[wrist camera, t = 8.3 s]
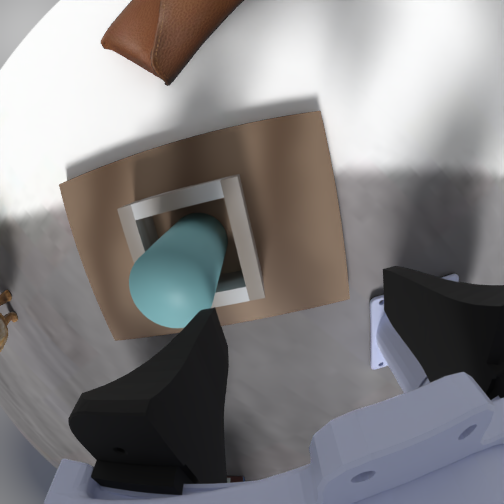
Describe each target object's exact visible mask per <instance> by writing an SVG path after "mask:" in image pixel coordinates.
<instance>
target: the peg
mask: <svg viewBox="0 0 504 504" xmlns="http://www.w3.org/2000/svg"><path fill="white" fill-rule="evenodd" d="M227 244H228V239H227V234H226V231H225V229H224V227H223V225H222V224H221V223H220V222H219V221H218V220H217V219H216V218H214V217H213V216H211V215H208V214H205V213H192V214H188V215H186V216H184V217H183V218H181V219H180V220H179V221H178V222H177V223H176V224H175V225H173V226H172V227H171V228H170V229H169V230H168V231H167V232H166V233H165V234H164V235H163V236H161V237H160V238H159V239H158V240H157V241H156V242H155V243H154V244H153V245H152V246H151V247H150V248H149V249H148V250H147V251H146V252H145V253H143V254H142V255H141V256H140V257H139V258H138V260H137V261H136V262H135V263H134V265H133V267H132V269H131V272H130V276H129V289H130V293H131V296H132V299H133V301H134V303H135V305H136V306H137V308H138V309H139V310H140V311H141V312H142V314H143V315H145V316H146V317H147V318H148V319H150V320H151V321H153V322H155V323H157V324H159V325H161V326H165V327H169V328H184V327H185V326H186V325H187V324H188V323H189V322H190V321H191V320H192V319H193V318H194V316H195V315H196V314H197V313H198V312H199V311H200V310H203V309H209V308H211V306H212V303H213V300H214V296H215V292H216V288H217V284H218V280H219V276H220V272H221V268H222V265H223V261H224V257H225V253H226V249H227Z"/></svg>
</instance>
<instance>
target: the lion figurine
mask: <svg viewBox="0 0 504 504" xmlns="http://www.w3.org/2000/svg"><path fill="white" fill-rule="evenodd" d="M11 299H12V296H11V294H10V292H9V291H8V290H6V291H4V292H3V293H2V294H1V295H0V306H1V305H3V304H5V303H6V302H7V301H10V300H11ZM11 320H12V321H13V322H16V321H17V320H18V317H17V314H16V313H14V312H10V313H8V314H6V315H5V316H3V315H2V314H1V313H0V352H1V350H2V349H3V347H4V345H5V343H6V341H7V338H8V328H7V325H8V323H9V322H10V321H11Z"/></svg>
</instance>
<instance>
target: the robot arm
mask: <svg viewBox="0 0 504 504" xmlns="http://www.w3.org/2000/svg"><path fill="white" fill-rule="evenodd" d="M458 281H459V277H458V275H456V274H451V275H448V276H445V277H442V278H439V277H435V276H432V275H428V274H425V273H421V272H418V271H415V270H411V269H408V268H404V267H399V266H394V267H390V268H386V269H383V283H384V295H381V296H377V297H374V298H372V299H371V301H370V332H371V360H370V365H371V368H372V369H378V368H381V367H385V366H389V367H390V369H391V371H392V372H393V374H394V376H395V378H396V379H397V381H398V383H399V385H400V386H401V388H402V390H403V392H404V394H401V395H398V396H395V397H393V398H390V399H387V400H384V401H381V402H378V403H375V404H372V405H369V406H366V407H362V408H359V409H356V410H353V411H350V412H348V413H346V414H344V415H341V416H339V417H337V418H334V419H332V420H331V421H330V422H328V423H327V424H326V425H325V426H324V427H322V428H321V429H320V430H319V431H317V432H316V433H315V434H314V435H313V438H312V441H311V444H310V447H309V451H310V457H311V463H310V464H307V465H305V466H302V467H299V468H296V469H293V470H290V471H287V472H284V473H281V474H278V475H274V476H271V477H268V478H264V479H261V480H256V481H246V482H234V483H227V475H226V463H225V448H224V403H225V394H226V385H227V376H228V366H229V364H228V345H227V342H226V339H225V336H224V333H223V330H222V327H221V324H220V321H219V318H218V315H217V312H216V309H215V307H214V308H209V309H203V310H200V311H199V312H198V313H197V314H196V315H195V316H194V318H193V319H192V320H191V321H190V322H189V323H188V324H187V325H186V326H185V327H184V329H183V330H182V331H181V332H180V333H179V334H178V335H177V336H176V337H175V338H174V339H173V340H172V341H171V342H170V343H169V344H168V345H167V346H166V347H165V348H163V349H162V350H161V351H160V352H159V353H158V354H156V355H155V356H154V357H152V358H151V359H150V360H149V361H147V362H146V363H144V364H143V365H141V366H140V367H138V368H136V369H135V370H133V371H132V372H130V373H128V374H127V375H125V376H123V377H121V378H119V379H117V380H115V381H113V382H111V383H108V384H106V385H104V386H101V387H98V388H96V389H93V390H90V391H88V392H85V393H82V394H81V396H80V398H79V400H78V402H77V403H76V405H75V407H74V409H73V411H72V413H71V415H70V417H69V426H70V429H71V431H72V433H73V434H74V435H75V437H76V438H77V439H78V441H79V442H80V443H81V444H82V445H83V446H84V447H85V448H86V449H87V450H88V451H89V452H90V453H91V455H92V456H93V457H94V458H95V459H96V460H97V461H96V464H95V467H93V466H91V465H89V464H87V463H84V462H78V461H73V460H69V459H62V461H61V463H60V465H59V467H58V470H57V472H56V474H55V477H54V479H53V481H52V484H51V486H50V489H49V491H48V493H47V496H46V499H45V501H44V504H504V285H477V284H469V283H462V282H458ZM381 300H383V301H382V303H379V302H380V301H381ZM381 362H382V363H381ZM379 363H380V364H379Z"/></svg>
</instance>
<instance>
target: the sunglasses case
mask: <svg viewBox="0 0 504 504" xmlns="http://www.w3.org/2000/svg"><path fill="white" fill-rule="evenodd" d="M243 1H244V0H132V1H131V2H130V3H129V4H128V6H127V7H126V8H125V9H124V10H123V11H122V13H121V14H120V15H119V16H118V17H117V18H116V20H115V21H114V22H113V23H112V24H111V26H110V27H109V28H108V30H107V31H106V33H105V34H104V36H103V38H102V40H101V44H102V46H103V48H104V49H109V50H113V51H115V52H116V53H118V54H120V55H122V56H124V57H125V58H127V59H128V60H130V61H132V62H134V63H135V64H137V65H139V66H141V67H142V68H144V69H145V70H147V71H148V72H151V73H153V74H154V75H155V76H157V77H159V78H161V79H162V80H163V81H164V82H165V85H167V86H168V85H170V84H171V83H172V82H173V81H174V79H175V78H176V77H177V76H178V75H179V73H180V72H181V71H182V69H183V68H184V67H185V66H186V64H187V63H188V62H189V61H190V59H191V58H192V57H193V56H194V54H195V53H196V52H197V50H198V49H199V48H200V47H201V45H202V44H203V43H204V42H205V41H206V40H207V39H208V38H209V36H210V35H211V34H212V33H213V32H214V31H215V30H216V29H217V28H218V26H219V25H220V24H221V23H222V22H223V21H224V20H225V19H226V18H227V17H228V16H229V15H230V14H231V13H232V12H233V11H234V10H235V8H236V7H237V6H238V5H240V4H241V3H242V2H243Z"/></svg>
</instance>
